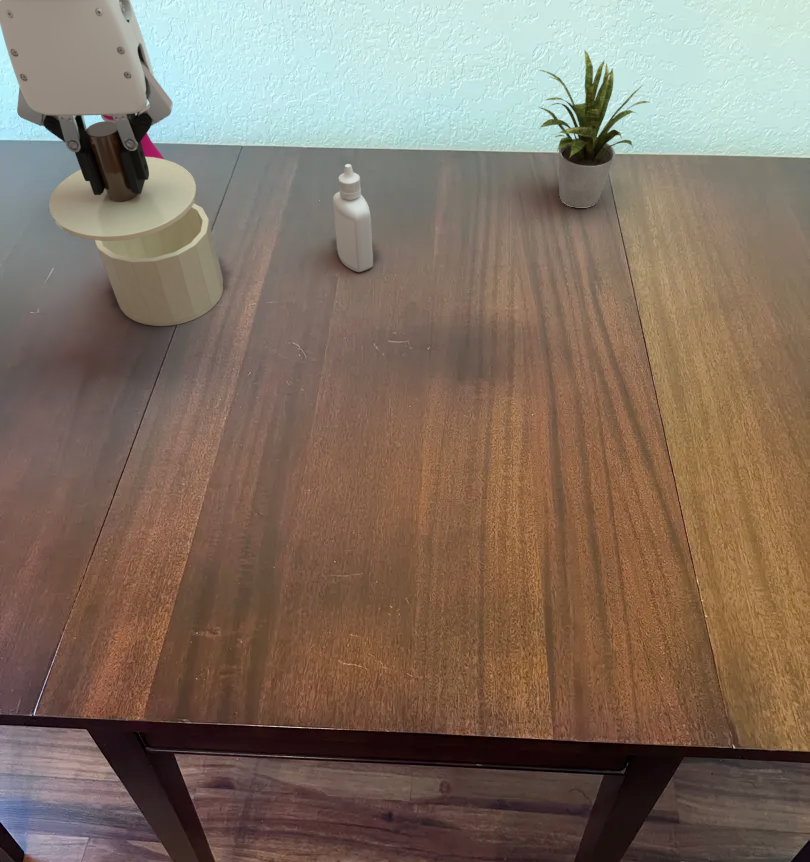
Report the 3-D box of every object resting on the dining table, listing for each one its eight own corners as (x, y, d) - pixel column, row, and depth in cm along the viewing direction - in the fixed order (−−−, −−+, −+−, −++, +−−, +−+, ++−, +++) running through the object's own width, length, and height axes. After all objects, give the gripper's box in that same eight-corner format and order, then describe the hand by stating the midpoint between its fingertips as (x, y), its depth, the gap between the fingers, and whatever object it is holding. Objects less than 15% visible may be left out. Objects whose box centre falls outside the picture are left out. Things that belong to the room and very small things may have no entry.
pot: (109, 328, 89) (83, 263, 82) (127, 262, 96) (105, 198, 90) (218, 324, 89) (201, 259, 83) (227, 259, 97) (213, 194, 90)
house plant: (507, 171, 108) (520, 40, 94) (604, 160, 109) (629, 29, 96) (536, 230, 99) (554, 96, 86) (640, 217, 101) (673, 83, 87)
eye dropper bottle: (337, 274, 94) (328, 180, 85) (337, 247, 98) (328, 153, 88) (373, 273, 95) (368, 178, 85) (372, 245, 98) (367, 151, 88)
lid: (37, 248, 69) (3, 172, 64) (71, 168, 77) (43, 93, 71) (188, 245, 70) (167, 168, 64) (206, 165, 77) (190, 90, 72)
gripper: (163, -73, 59) (213, 163, 74) (-52, -69, 59) (42, 167, 74) (147, -35, 55) (203, 207, 70) (-86, -31, 55) (21, 211, 70)
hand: (120, 184), depth 72 cm, fingers closed on lid, 2 cm apart
